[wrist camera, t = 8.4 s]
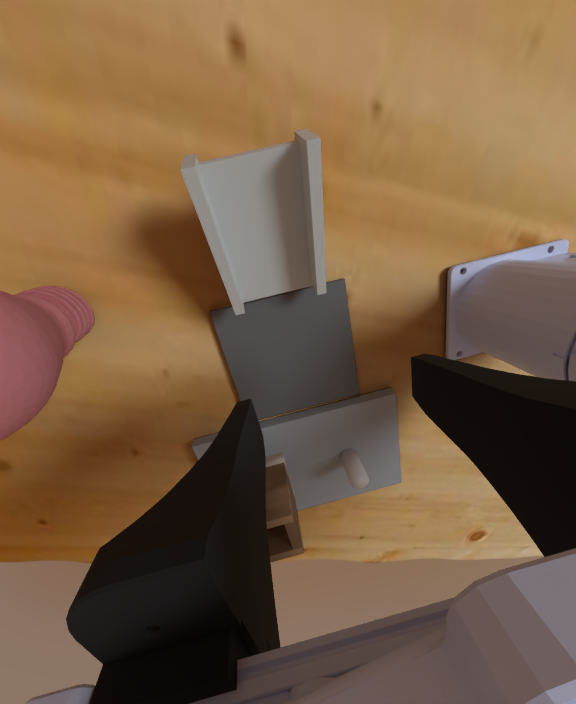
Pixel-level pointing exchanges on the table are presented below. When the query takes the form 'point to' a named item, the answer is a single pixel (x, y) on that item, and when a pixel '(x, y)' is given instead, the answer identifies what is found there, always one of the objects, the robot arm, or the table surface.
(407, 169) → the table surface
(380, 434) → the pin board
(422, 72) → the table surface
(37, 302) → the light bulb
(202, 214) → the feeder chute
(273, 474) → the sleeve
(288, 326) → the mat
